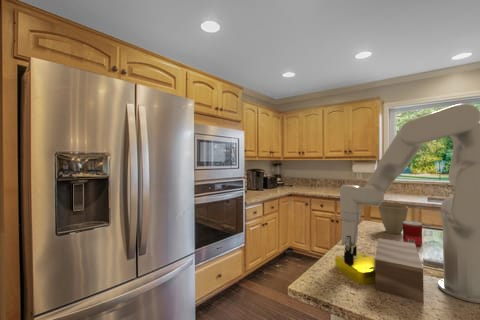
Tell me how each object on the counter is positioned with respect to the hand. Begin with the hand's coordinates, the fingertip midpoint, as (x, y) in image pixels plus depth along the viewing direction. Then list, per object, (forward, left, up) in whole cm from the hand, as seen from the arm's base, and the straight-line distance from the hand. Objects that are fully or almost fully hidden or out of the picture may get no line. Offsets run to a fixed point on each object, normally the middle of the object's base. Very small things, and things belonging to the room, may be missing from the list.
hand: (350, 258), depth 91 cm
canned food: (-46, +23, -4) cm, 52 cm away
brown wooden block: (0, +15, -4) cm, 16 cm away
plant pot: (-64, +15, -4) cm, 66 cm away
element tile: (+1, +4, -5) cm, 6 cm away
